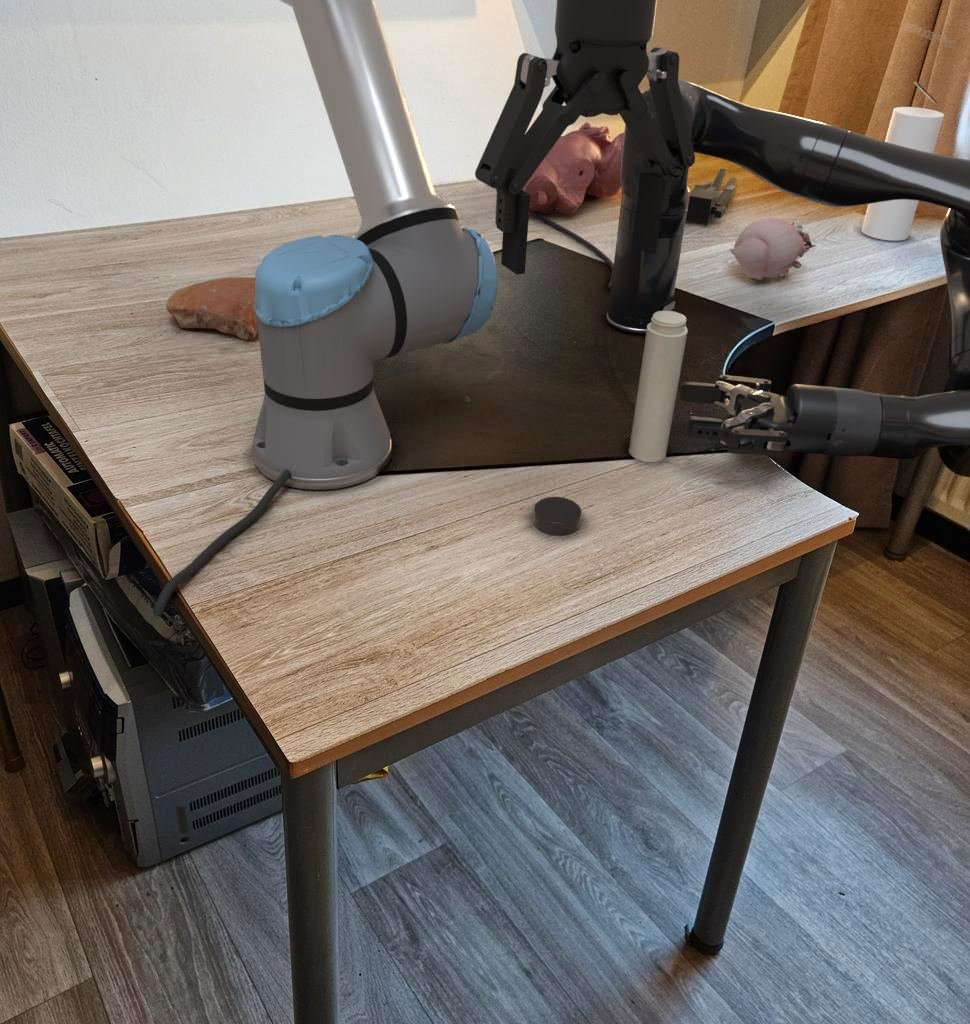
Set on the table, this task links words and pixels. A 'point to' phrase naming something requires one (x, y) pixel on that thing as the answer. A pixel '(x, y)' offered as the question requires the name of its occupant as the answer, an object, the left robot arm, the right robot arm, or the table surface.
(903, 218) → the tall white tube
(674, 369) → the beige cylinder
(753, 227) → the toy
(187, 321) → the ceramic shard
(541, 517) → the lid
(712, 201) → the toy
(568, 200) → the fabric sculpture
